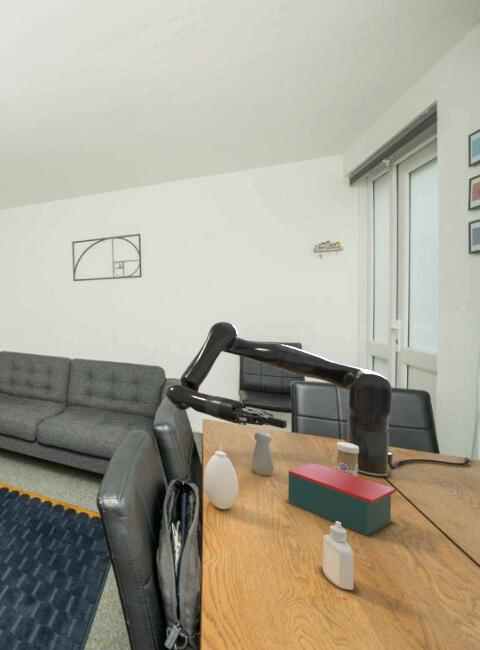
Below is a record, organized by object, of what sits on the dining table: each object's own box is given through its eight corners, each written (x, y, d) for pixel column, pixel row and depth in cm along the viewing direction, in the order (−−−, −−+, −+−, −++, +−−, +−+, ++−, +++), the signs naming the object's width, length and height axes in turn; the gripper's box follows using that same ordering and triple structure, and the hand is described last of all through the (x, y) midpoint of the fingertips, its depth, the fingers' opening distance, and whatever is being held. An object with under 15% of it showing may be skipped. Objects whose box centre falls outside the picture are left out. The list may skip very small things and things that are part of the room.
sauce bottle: (231, 501, 101) (232, 439, 100) (243, 517, 93) (243, 450, 93) (200, 497, 103) (200, 436, 103) (208, 512, 96) (208, 446, 96)
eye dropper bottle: (321, 581, 72) (322, 523, 72) (322, 567, 76) (323, 512, 76) (353, 594, 69) (354, 533, 69) (352, 578, 73) (353, 521, 73)
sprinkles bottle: (334, 487, 108) (335, 443, 108) (338, 482, 111) (338, 440, 110) (356, 493, 104) (357, 448, 104) (359, 489, 107) (360, 445, 107)
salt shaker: (278, 477, 114) (278, 437, 114) (257, 476, 115) (258, 436, 115) (266, 469, 120) (267, 431, 120) (247, 467, 121) (247, 430, 121)
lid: (395, 492, 90) (395, 489, 90) (371, 503, 85) (372, 500, 85) (312, 464, 105) (312, 462, 105) (288, 473, 100) (288, 470, 100)
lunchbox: (390, 522, 91) (391, 490, 91) (366, 535, 86) (367, 501, 86) (312, 492, 105) (312, 465, 105) (288, 502, 100) (288, 473, 100)
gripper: (211, 400, 119) (272, 415, 103) (236, 395, 124) (297, 409, 108) (211, 422, 119) (272, 440, 103) (236, 417, 124) (297, 433, 108)
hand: (285, 424), depth 106 cm, fingers closed
